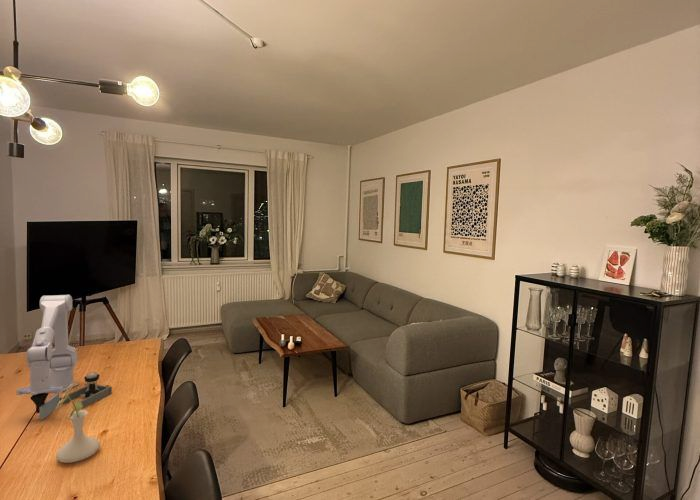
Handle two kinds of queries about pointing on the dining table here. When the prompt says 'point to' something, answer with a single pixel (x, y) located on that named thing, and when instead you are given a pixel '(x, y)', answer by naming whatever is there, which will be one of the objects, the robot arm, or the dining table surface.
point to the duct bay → (88, 401)
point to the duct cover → (48, 406)
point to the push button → (91, 384)
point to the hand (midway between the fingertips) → (40, 411)
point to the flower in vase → (76, 435)
